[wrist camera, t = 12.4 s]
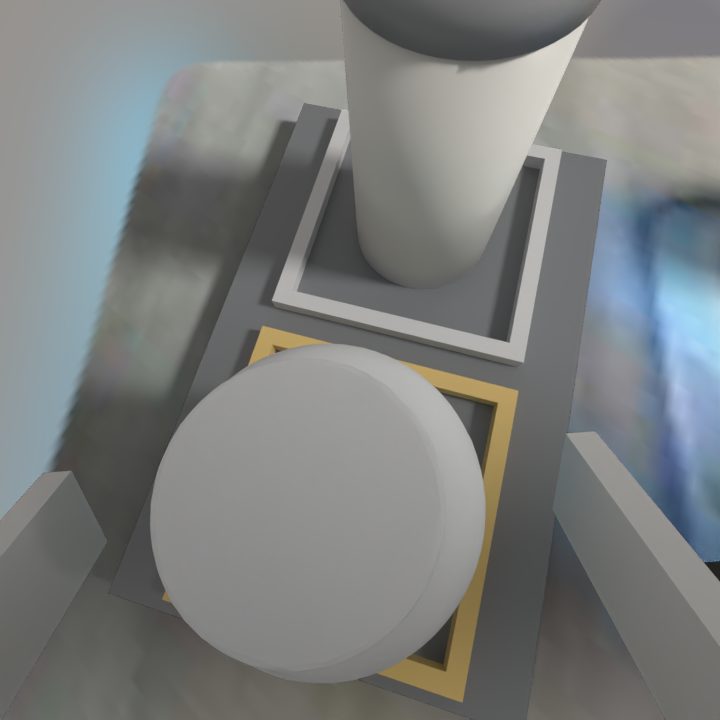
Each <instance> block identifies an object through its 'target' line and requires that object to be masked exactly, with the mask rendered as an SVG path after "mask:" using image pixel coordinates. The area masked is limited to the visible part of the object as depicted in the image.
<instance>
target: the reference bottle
mask: <svg viewBox="0 0 720 720" xmlns="http://www.w3.org/2000/svg"><path fill="white" fill-rule="evenodd" d="M600 1H601V0H340V3H341V17H342V29H343V30H342V31H343V44H344V58H345V71H346V85H347V99H348V112H349V126H350V139H351V153H352V166H353V180H354V194H355V207H356V221H357V234H358V242H359V246H360V249H361V252H362V254H363V256H364V258H365V259H366V261H367V262H368V264H369V265H370V266H371V267H372V268H373V269H374V270H375V271H376V272H377V273H378V274H379V275H381V276H382V277H383V278H385V279H387V280H389V281H390V282H393V283H395V284H397V285H400V286H404V287H407V288H413V289H434V288H439V287H443V286H446V285H449V284H452V283H454V282H456V281H458V280H459V279H461V278H463V277H464V276H465V275H467V274H468V273H469V272H470V271H471V270H472V269H473V268H474V267H475V266H476V265H477V263H478V262H479V260H480V258H481V256H482V254H483V252H484V250H485V248H486V245H487V243H488V241H489V239H490V237H491V234H492V232H493V230H494V228H495V225H496V223H497V221H498V219H499V217H500V214H501V212H502V210H503V208H504V205H505V203H506V201H507V199H508V196H509V194H510V192H511V190H512V188H513V185H514V183H515V181H516V179H517V176H518V174H519V172H520V170H521V168H522V165H523V163H524V161H525V159H526V156H527V154H528V152H529V150H530V147H531V145H532V143H533V141H534V139H535V136H536V134H537V132H538V130H539V127H540V125H541V123H542V121H543V119H544V116H545V114H546V112H547V110H548V107H549V105H550V103H551V101H552V99H553V96H554V94H555V92H556V90H557V87H558V85H559V83H560V81H561V78H562V76H563V74H564V72H565V70H566V67H567V65H568V63H569V61H570V58H571V56H572V54H573V52H574V49H575V47H576V45H577V43H578V41H579V38H580V36H581V34H582V32H583V29H584V27H585V25H586V23H587V21H588V18H589V16H590V15H591V14H592V13H593V11H594V10H595V9H596V7H597V6H598V4H599V3H600Z"/></svg>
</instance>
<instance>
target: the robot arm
mask: <svg viewBox="0 0 720 720" xmlns="http://www.w3.org/2000/svg"><path fill="white" fill-rule="evenodd" d="M552 510H553V512H554V514H555V516H556V517H557V519H558V521H559V523H560V525H561V527H562V529H563V530H564V532H565V534H566V536H567V538H568V540H569V542H570V543H571V545H572V547H573V549H574V551H575V553H576V555H577V556H578V558H579V560H580V562H581V564H582V566H583V568H584V569H585V571H586V573H587V575H588V577H589V579H590V580H591V582H592V584H593V586H594V588H595V590H596V592H597V593H598V595H599V597H600V599H601V601H602V603H603V605H604V606H605V608H606V610H607V612H608V614H609V616H610V618H611V619H612V621H613V623H614V625H615V627H616V629H617V631H618V632H619V634H620V636H621V638H622V640H623V642H624V644H625V645H626V647H627V649H628V651H629V653H630V655H631V656H632V658H633V660H634V662H635V664H636V666H637V668H638V669H639V671H640V673H641V675H642V677H643V679H644V681H645V682H646V684H647V686H648V688H649V690H650V692H651V694H652V695H653V697H654V699H655V701H656V703H657V705H658V707H659V708H660V710H661V712H662V714H663V716H664V718H665V719H666V720H720V561H719V562H703V561H702V560H701V558H700V557H699V556H698V555H697V554H696V552H695V551H694V550H693V549H692V548H691V546H690V545H689V544H688V543H687V542H686V540H685V539H684V538H683V537H682V535H681V534H680V533H679V532H678V531H677V529H676V528H675V527H674V526H673V525H672V523H671V522H670V521H669V520H668V519H667V517H666V516H665V515H664V514H663V513H662V511H661V510H660V509H659V508H658V506H657V505H656V504H655V503H654V502H653V500H652V499H651V498H650V497H649V496H648V494H647V493H646V492H645V491H644V490H643V488H642V487H641V486H640V485H639V483H638V482H637V481H636V480H635V479H634V477H633V476H632V475H631V474H630V473H629V471H628V470H627V469H626V468H625V467H624V465H623V464H622V463H621V462H620V461H619V459H618V458H617V457H616V456H615V454H614V453H613V452H612V451H611V450H610V448H609V447H608V446H607V445H606V444H605V442H604V441H603V440H602V439H601V438H600V436H599V435H598V434H597V433H596V431H593V432H580V433H566V436H565V441H564V447H563V452H562V458H561V463H560V469H559V474H558V480H557V486H556V491H555V497H554V502H553V508H552ZM107 542H108V541H107V539H106V537H105V535H104V533H103V531H102V529H101V527H100V525H99V523H98V522H97V520H96V518H95V516H94V514H93V512H92V510H91V508H90V506H89V504H88V502H87V500H86V498H85V496H84V494H83V492H82V490H81V488H80V486H79V484H78V482H77V480H76V478H75V476H74V475H73V473H72V471H61V472H48V473H43V474H42V475H41V476H40V477H39V478H38V479H37V480H36V481H35V483H34V484H33V485H32V486H31V487H30V488H29V489H28V490H27V491H26V493H25V494H24V495H23V496H22V497H21V498H20V499H19V500H18V501H17V502H16V504H15V505H14V506H13V507H12V508H11V509H10V510H9V511H8V513H7V514H6V515H5V516H4V517H3V518H2V519H1V520H0V720H2V719H3V717H4V715H5V714H6V712H7V710H8V709H9V707H10V705H11V704H12V702H13V700H14V698H15V697H16V695H17V693H18V692H19V690H20V688H21V687H22V685H23V683H24V682H25V680H26V678H27V677H28V675H29V673H30V672H31V670H32V668H33V667H34V665H35V663H36V661H37V660H38V658H39V656H40V655H41V653H42V651H43V650H44V648H45V646H46V645H47V643H48V641H49V640H50V638H51V636H52V635H53V633H54V631H55V629H56V628H57V626H58V624H59V623H60V621H61V619H62V618H63V616H64V614H65V613H66V611H67V609H68V608H69V606H70V604H71V603H72V601H73V599H74V598H75V596H76V594H77V592H78V591H79V589H80V587H81V586H82V584H83V582H84V581H85V579H86V577H87V576H88V574H89V572H90V571H91V569H92V567H93V566H94V564H95V562H96V560H97V559H98V557H99V555H100V554H101V552H102V550H103V549H104V547H105V545H106V544H107Z"/></svg>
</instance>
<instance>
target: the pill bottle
mask: <svg viewBox="0 0 720 720" xmlns="http://www.w3.org/2000/svg"><path fill="white" fill-rule="evenodd" d="M485 514H486V504H485V491H484V483H483V478H482V473H481V469H480V465H479V461H478V457H477V454H476V451H475V449H474V446H473V443H472V440H471V438H470V436H469V434H468V433H467V431H466V429H465V427H464V425H463V423H462V422H461V420H460V418H459V417H458V415H457V413H456V412H455V410H454V409H453V408H452V406H451V405H450V403H449V402H448V401H447V400H446V399H445V398H444V396H443V395H442V394H441V393H440V392H439V391H438V390H437V389H436V388H435V387H434V386H433V385H432V384H431V383H430V382H428V381H427V380H426V379H425V378H424V377H422V376H421V375H420V374H418V373H417V372H416V371H414V370H413V369H411V368H410V367H408V366H407V365H405V364H403V363H401V362H399V361H397V360H395V359H393V358H391V357H389V356H387V355H384V354H381V353H379V352H376V351H373V350H370V349H366V348H362V347H357V346H351V345H345V344H312V345H305V346H299V347H295V348H290V349H286V350H283V351H280V352H277V353H274V354H271V355H269V356H267V357H265V358H262V359H260V360H258V361H256V362H254V363H252V364H250V365H249V366H247V367H245V368H244V369H242V370H241V371H239V372H238V373H237V374H235V375H234V376H233V377H231V378H230V379H229V380H227V381H225V382H224V383H222V384H221V385H219V386H218V387H217V388H215V389H214V390H213V391H212V392H210V393H209V394H208V395H207V396H206V397H205V398H204V399H203V400H201V401H200V402H199V403H198V404H197V405H196V406H195V408H194V409H193V410H192V411H191V412H190V413H189V414H188V416H187V417H186V418H185V419H184V421H183V422H182V423H181V424H180V426H179V427H178V429H177V431H176V432H175V434H174V436H173V437H172V439H171V441H170V443H169V445H168V447H167V449H166V451H165V454H164V456H163V458H162V460H161V463H160V466H159V468H158V471H157V475H156V479H155V482H154V488H153V494H152V499H151V511H150V533H151V542H152V549H153V553H154V558H155V562H156V567H157V570H158V573H159V576H160V578H161V581H162V583H163V586H164V588H165V590H166V592H167V594H168V596H169V598H170V601H171V602H172V604H173V606H174V607H175V608H176V610H177V611H178V612H179V614H180V615H181V616H182V618H183V619H184V620H185V622H186V623H187V624H188V625H189V626H190V627H191V628H192V629H193V630H194V631H195V632H196V633H197V634H198V635H199V636H200V637H201V638H202V639H203V640H205V641H206V642H207V643H209V644H210V645H211V646H213V647H214V648H216V649H217V650H219V651H220V652H222V653H224V654H225V655H227V656H228V657H231V658H233V659H235V660H237V661H240V662H242V663H244V664H248V665H250V666H252V667H254V668H256V669H258V670H260V671H263V672H265V673H267V674H270V675H273V676H276V677H279V678H282V679H287V680H291V681H297V682H304V683H316V684H324V683H340V682H346V681H351V680H356V679H360V678H364V677H368V676H370V675H373V674H376V673H378V672H381V671H384V670H386V669H388V668H390V667H392V666H394V665H396V664H398V663H399V662H401V661H402V660H404V659H405V658H407V657H408V656H410V655H411V654H413V653H414V652H416V651H417V650H418V649H420V648H421V647H422V646H423V645H425V644H426V643H427V642H428V641H429V640H430V639H431V638H432V637H433V636H434V635H435V634H436V633H437V632H438V631H439V630H440V629H441V628H442V627H443V625H444V624H445V623H446V622H447V620H448V619H449V618H450V617H451V615H452V614H453V612H454V611H455V609H456V608H457V606H458V605H459V603H460V602H461V600H462V598H463V597H464V595H465V593H466V591H467V589H468V587H469V584H470V582H471V580H472V578H473V575H474V573H475V570H476V567H477V564H478V560H479V557H480V553H481V549H482V544H483V538H484V531H485Z"/></svg>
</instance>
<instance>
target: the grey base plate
mask: <svg viewBox="0 0 720 720" xmlns="http://www.w3.org/2000/svg"><path fill="white" fill-rule="evenodd" d="M606 162H607V160H604V159H599V158H594V157H588V156H583V155H578V154H572V153H567V152H562V150H560V149H554V148H549V147H544V146H538V145H533V144H532V145H531V147H530V150H529V152H528V154H527V156H526V159H525V161H524V163H523V165H522V168H521V170H520V172H519V174H518V176H517V179H516V181H515V183H514V185H513V188H512V190H511V192H510V194H509V196H508V199H507V201H506V203H505V205H504V208H503V210H502V212H501V214H500V217H499V219H498V221H497V223H496V225H495V228H494V230H493V232H492V234H491V237H490V239H489V241H488V243H487V245H486V248H485V250H484V252H483V254H482V256H481V258H480V260H479V262H478V263H477V265H476V266H475V267H474V268H473V269H472V270H471V271H470V272H469V273H468V274H467V275H465V276H464V277H463V278H461V279H459V280H458V281H456V282H454V283H452V284H449V285H446V286H443V287H439V288H434V289H413V288H407V287H404V286H400V285H397V284H395V283H393V282H390V281H389V280H387V279H385V278H383V277H382V276H381V275H379V274H378V273H377V272H376V271H375V270H374V269H373V268H372V267H371V266H370V265H369V264H368V262H367V261H366V259H365V258H364V256H363V254H362V252H361V249H360V246H359V242H358V234H357V221H356V207H355V194H354V180H353V166H352V153H351V139H350V126H349V112H348V110H346V109H342V110H338V109H332V108H327V107H322V106H316V105H311V104H306V103H304V105H303V107H302V110H301V112H300V115H299V117H298V120H297V122H296V125H295V127H294V130H293V132H292V135H291V137H290V140H289V142H288V145H287V147H286V150H285V152H284V155H283V157H282V160H281V162H280V165H279V167H278V170H277V172H276V175H275V177H274V180H273V182H272V185H271V187H270V190H269V192H268V195H267V197H266V200H265V202H264V205H263V207H262V210H261V212H260V215H259V217H258V220H257V223H256V225H255V228H254V230H253V233H252V235H251V238H250V240H249V243H248V245H247V248H246V250H245V253H244V255H243V258H242V260H241V263H240V265H239V268H238V270H237V273H236V275H235V278H234V280H233V283H232V285H231V288H230V290H229V293H228V295H227V298H226V300H225V303H224V305H223V308H222V310H221V313H220V315H219V318H218V320H217V323H216V325H215V328H214V330H213V333H212V335H211V338H210V340H209V343H208V345H207V348H206V350H205V353H204V355H203V358H202V360H201V363H200V365H199V368H198V370H197V373H196V375H195V378H194V380H193V383H192V385H191V388H190V390H189V393H188V395H187V398H186V400H185V403H184V405H183V408H182V410H181V413H180V415H179V418H178V420H177V423H176V425H175V428H174V430H173V433H172V435H171V438H170V440H169V443H170V441H171V439H172V437H173V436H174V434H175V432H176V431H177V429H178V427H179V426H180V424H181V423H182V422H183V421H184V419H185V418H186V417H187V416H188V414H189V413H190V412H191V411H192V410H193V409H194V408H195V406H196V405H197V404H198V403H199V402H200V401H201V400H203V399H204V398H205V397H206V396H207V395H208V394H209V393H210V392H212V391H213V390H214V389H215V388H217V387H218V386H219V385H221V384H222V383H224V382H225V381H227V380H229V379H230V378H231V377H233V376H234V375H235V374H237V373H238V372H239V371H241V370H242V369H244V368H245V367H247V366H249V365H250V364H252V363H254V362H256V361H258V360H260V359H262V358H265V357H267V356H269V355H271V354H274V353H277V352H280V351H283V350H286V349H290V348H295V347H299V346H305V345H312V344H345V345H351V346H357V347H362V348H366V349H370V350H373V351H376V352H379V353H381V354H384V355H387V356H389V357H391V358H393V359H395V360H397V361H399V362H401V363H403V364H405V365H407V366H408V367H410V368H411V369H413V370H414V371H416V372H417V373H418V374H420V375H421V376H422V377H424V378H425V379H426V380H427V381H428V382H430V383H431V384H432V385H433V386H434V387H435V388H436V389H437V390H438V391H439V392H440V393H441V394H442V395H443V396H444V398H445V399H446V400H447V401H448V402H449V403H450V405H451V406H452V408H453V409H454V410H455V412H456V413H457V415H458V417H459V418H460V420H461V422H462V423H463V425H464V427H465V429H466V431H467V433H468V434H469V436H470V438H471V440H472V443H473V446H474V449H475V451H476V454H477V457H478V461H479V465H480V469H481V473H482V478H483V483H484V491H485V504H486V514H485V531H484V538H483V544H482V549H481V553H480V557H479V560H478V564H477V567H476V570H475V573H474V575H473V578H472V580H471V582H470V584H469V587H468V589H467V591H466V593H465V595H464V597H463V598H462V600H461V602H460V603H459V605H458V606H457V608H456V609H455V611H454V612H453V614H452V615H451V617H450V618H449V619H448V620H447V622H446V623H445V624H444V625H443V627H442V628H441V629H440V630H439V631H438V632H437V633H436V634H435V635H434V636H433V637H432V638H431V639H430V640H429V641H428V642H427V643H426V644H425V645H423V646H422V647H421V648H420V649H418V650H417V651H416V652H414V653H413V654H411V655H410V656H408V657H407V658H405V659H404V660H402V661H401V662H399V663H398V664H396V665H394V666H392V667H390V668H388V669H386V670H384V671H381V672H378V673H376V674H373V675H370V676H368V677H364V678H360V679H357V680H360V681H363V682H366V683H369V684H372V685H375V686H378V687H380V688H383V689H386V690H389V691H392V692H395V693H398V694H401V695H403V696H406V697H409V698H412V699H415V700H418V701H421V702H424V703H427V704H429V705H432V706H435V707H438V708H441V709H444V710H447V711H450V712H453V713H455V714H458V715H461V716H464V717H467V718H470V719H473V720H526V719H527V712H528V705H529V698H530V691H531V684H532V677H533V670H534V663H535V656H536V649H537V642H538V635H539V628H540V621H541V615H542V608H543V601H544V594H545V587H546V580H547V573H548V566H549V559H550V552H551V545H552V538H553V531H554V524H555V517H556V516H555V514H554V512H553V510H552V508H553V502H554V497H555V491H556V486H557V480H558V474H559V469H560V463H561V458H562V452H563V447H564V441H565V436H566V433H568V426H569V420H570V413H571V406H572V399H573V392H574V385H575V378H576V371H577V364H578V357H579V350H580V343H581V336H582V329H583V322H584V315H585V308H586V301H587V294H588V287H589V280H590V273H591V266H592V259H593V252H594V245H595V238H596V231H597V225H598V218H599V211H600V204H601V197H602V190H603V183H604V176H605V169H606ZM169 443H168V445H169ZM168 445H167V447H168ZM166 449H167V448H166ZM165 451H166V450H165ZM164 454H165V453H164ZM163 456H164V455H163ZM159 466H160V465H159ZM157 471H158V470H157ZM156 475H157V473H156ZM156 475H155V478H154V480H153V483H152V485H151V488H150V490H149V493H148V495H147V498H146V500H145V503H144V505H143V508H142V510H141V513H140V515H139V518H138V520H137V523H136V525H135V528H134V530H133V533H132V535H131V538H130V540H129V543H128V545H127V548H126V550H125V553H124V555H123V558H122V560H121V563H120V565H119V568H118V570H117V573H116V575H115V578H114V580H113V583H112V585H111V588H110V590H109V594H112V595H115V596H118V597H121V598H124V599H127V600H129V601H132V602H135V603H138V604H141V605H144V606H147V607H150V608H152V609H155V610H158V611H161V612H164V613H167V614H170V615H173V616H176V617H178V618H181V619H183V618H182V616H181V615H180V614H179V612H178V611H177V610H176V608H175V607H174V606H173V604H172V602H171V601H170V598H169V596H168V594H167V592H166V590H165V588H164V586H163V583H162V581H161V578H160V576H159V573H158V570H157V567H156V562H155V558H154V553H153V549H152V542H151V533H150V511H151V499H152V494H153V488H154V482H155V479H156Z"/></svg>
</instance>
